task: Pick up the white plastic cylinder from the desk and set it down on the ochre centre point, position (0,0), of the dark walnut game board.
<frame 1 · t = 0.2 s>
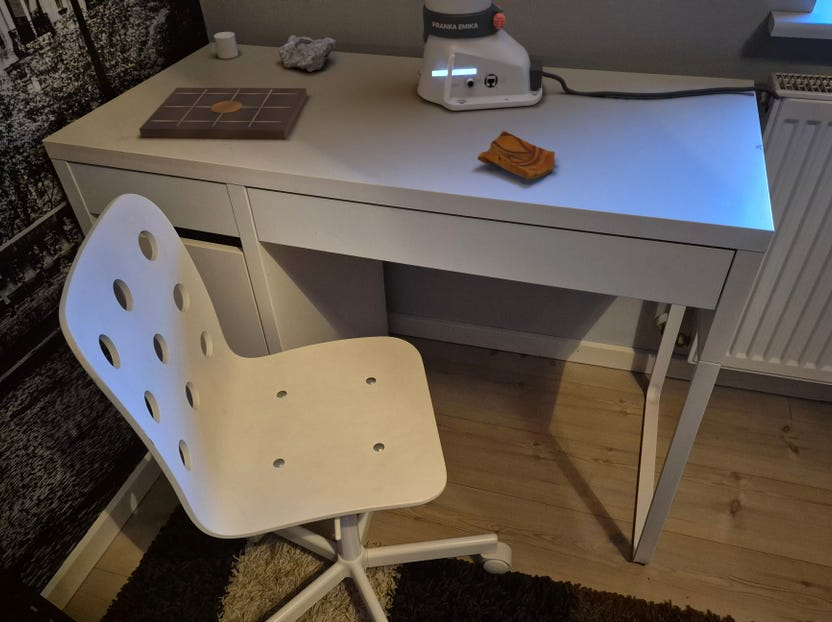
pottery fragment: (517, 169, 99), on the table
board: (228, 116, 115), on the table
white plastic cylinder: (228, 55, 139), on the table
mineral specimen: (309, 64, 134), on the table
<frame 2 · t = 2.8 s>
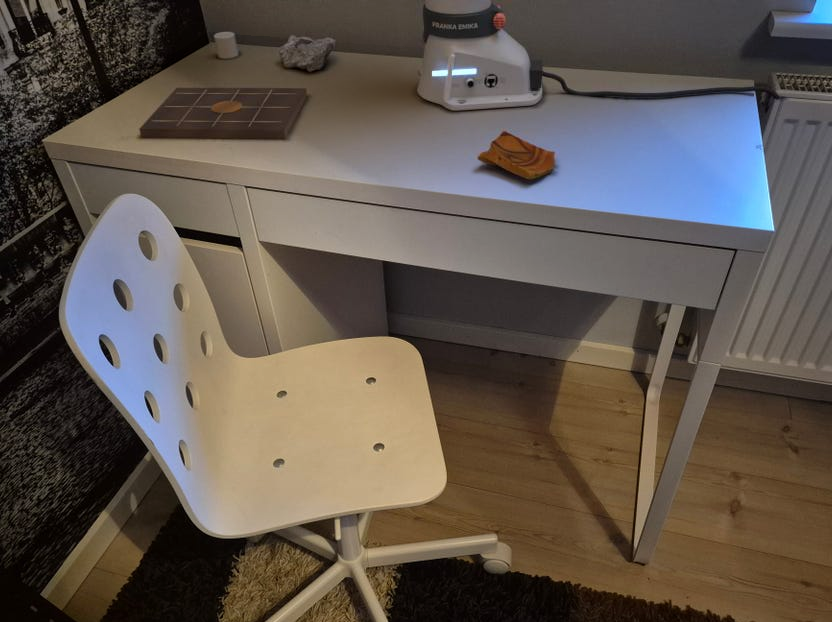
nothing on the table moved.
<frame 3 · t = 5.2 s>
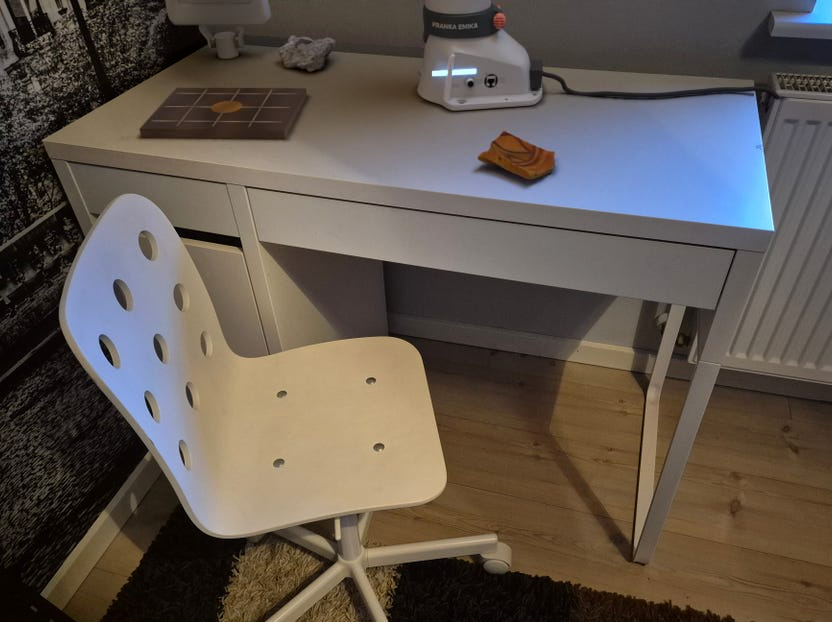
hand: (226, 47, 137), 2 cm above the table, tool pointing down, fingers closed on white plastic cylinder, 4 cm apart
white plastic cylinder: (228, 55, 139), on the table, touching gripper
everything else where it was.
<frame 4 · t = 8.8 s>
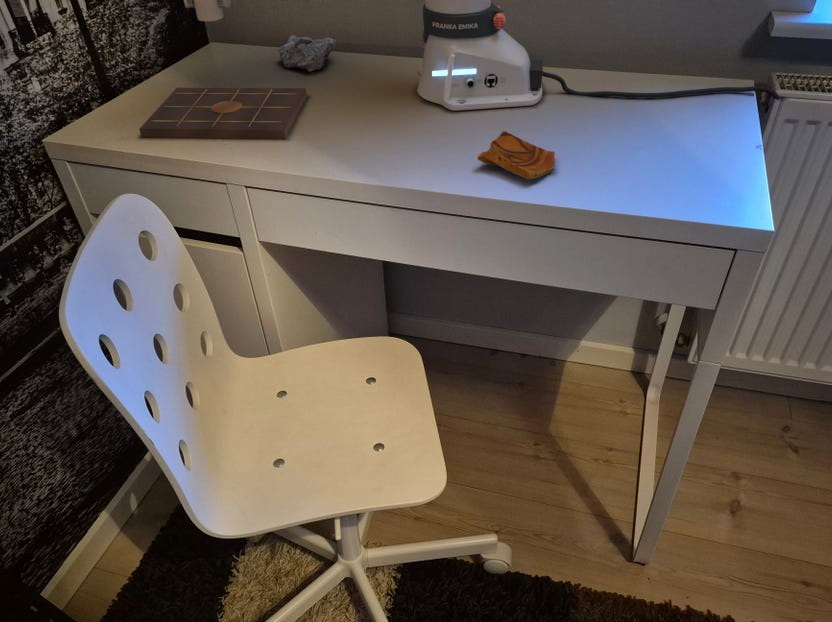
hand: (208, 7, 108), 16 cm above the table, tool pointing down, fingers closed on white plastic cylinder, 4 cm apart
white plastic cylinder: (210, 17, 109), point 14 cm above the table, touching gripper
everything else where it was.
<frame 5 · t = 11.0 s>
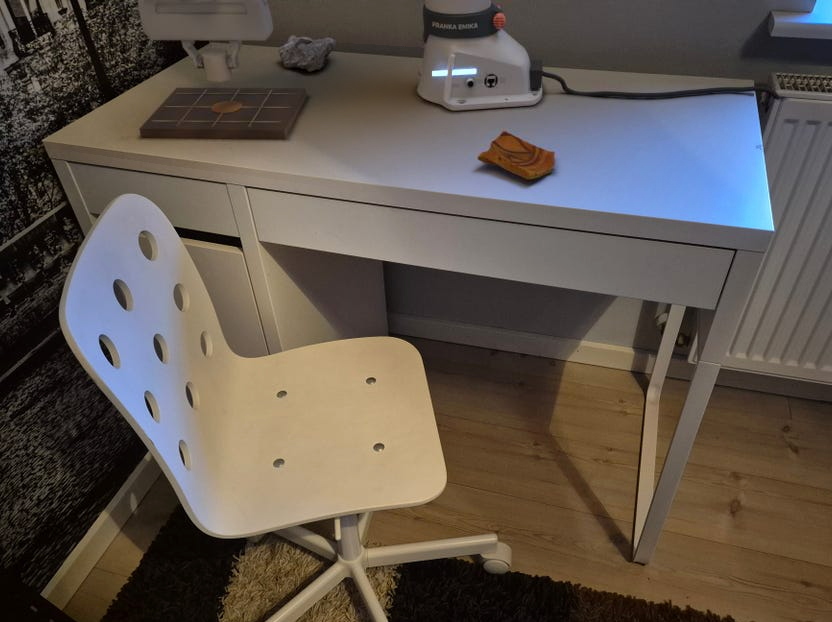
hand: (217, 67, 110), 8 cm above the table, tool pointing down, fingers closed on white plastic cylinder, 4 cm apart
white plastic cylinder: (219, 77, 111), point 7 cm above the table, touching gripper
everything else where it was.
when the fingers open (3 cm above the table, at t = 12.6 s): white plastic cylinder stays where it is, resting on board.
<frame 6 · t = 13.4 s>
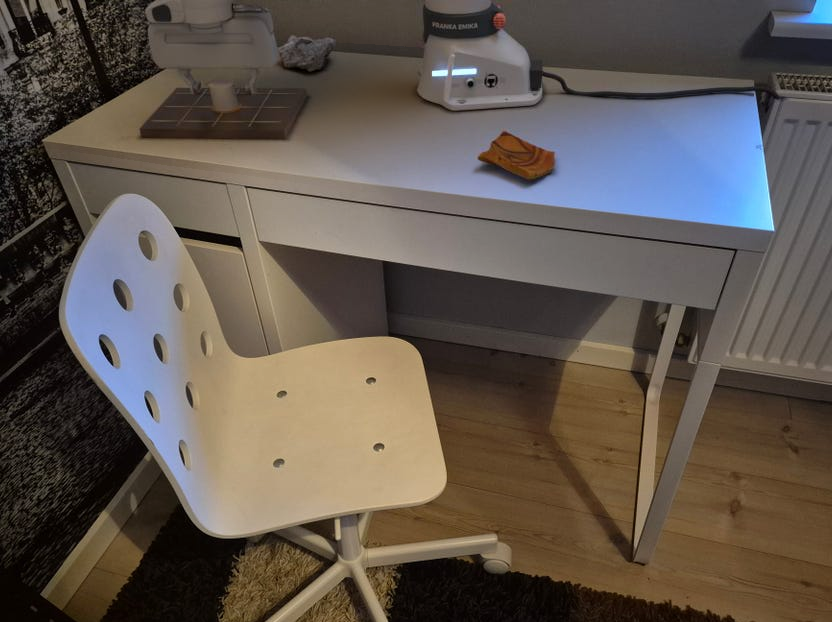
hand: (224, 94, 113), 4 cm above the table, tool pointing down, fingers open, 8 cm apart
white plastic cylinder: (226, 107, 114), point 2 cm above the table, touching board
everything else where it was.
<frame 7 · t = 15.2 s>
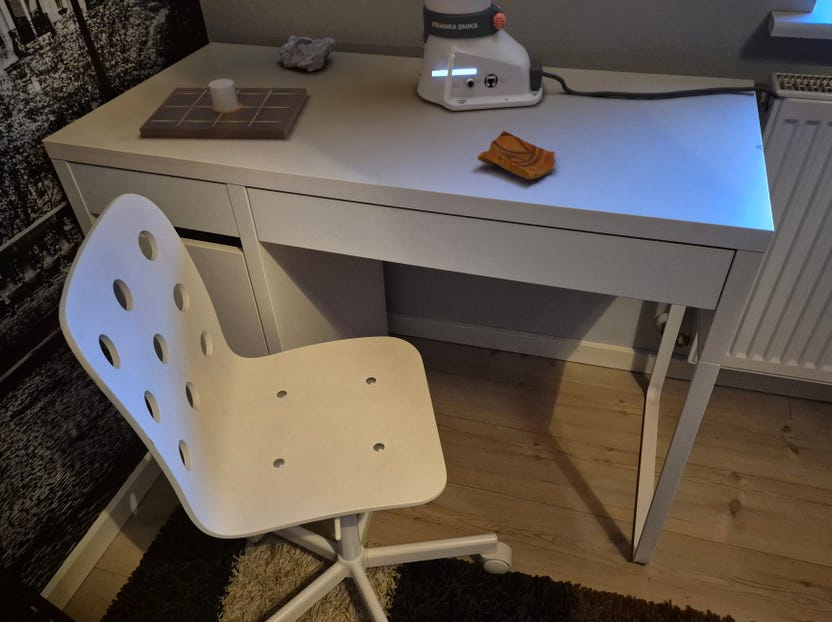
nothing on the table moved.
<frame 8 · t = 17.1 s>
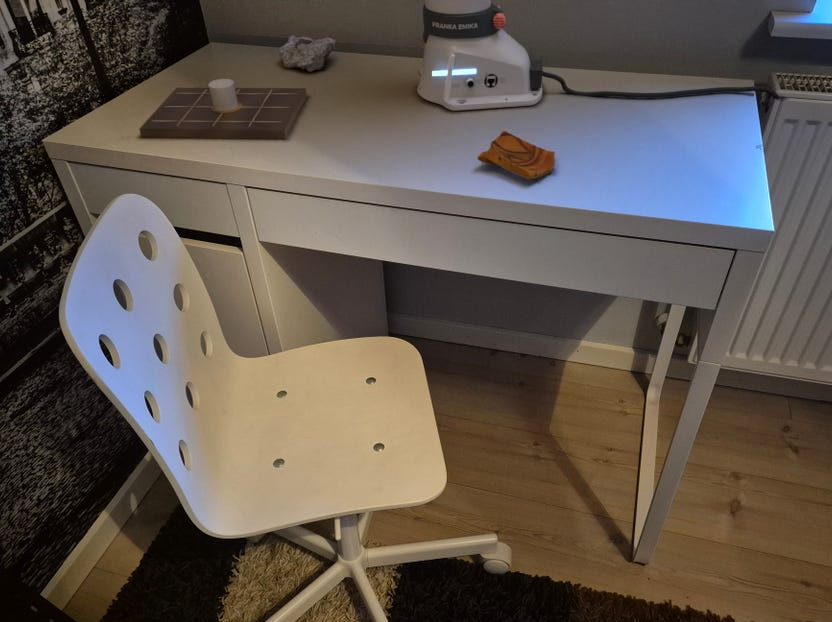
nothing on the table moved.
at the end: white plastic cylinder 0.1 cm off-centre on the board, point 1.6 cm above the board's base; white plastic cylinder tilted 0°; the gripper is holding nothing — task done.
